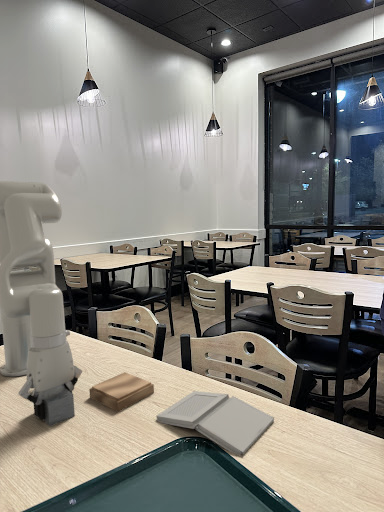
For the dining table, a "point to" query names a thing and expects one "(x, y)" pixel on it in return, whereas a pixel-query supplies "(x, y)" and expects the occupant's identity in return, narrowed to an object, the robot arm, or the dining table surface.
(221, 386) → the dining table surface
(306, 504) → the dining table surface
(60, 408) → the grey rectangular block
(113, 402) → the stand
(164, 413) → the grey folded flat piece
